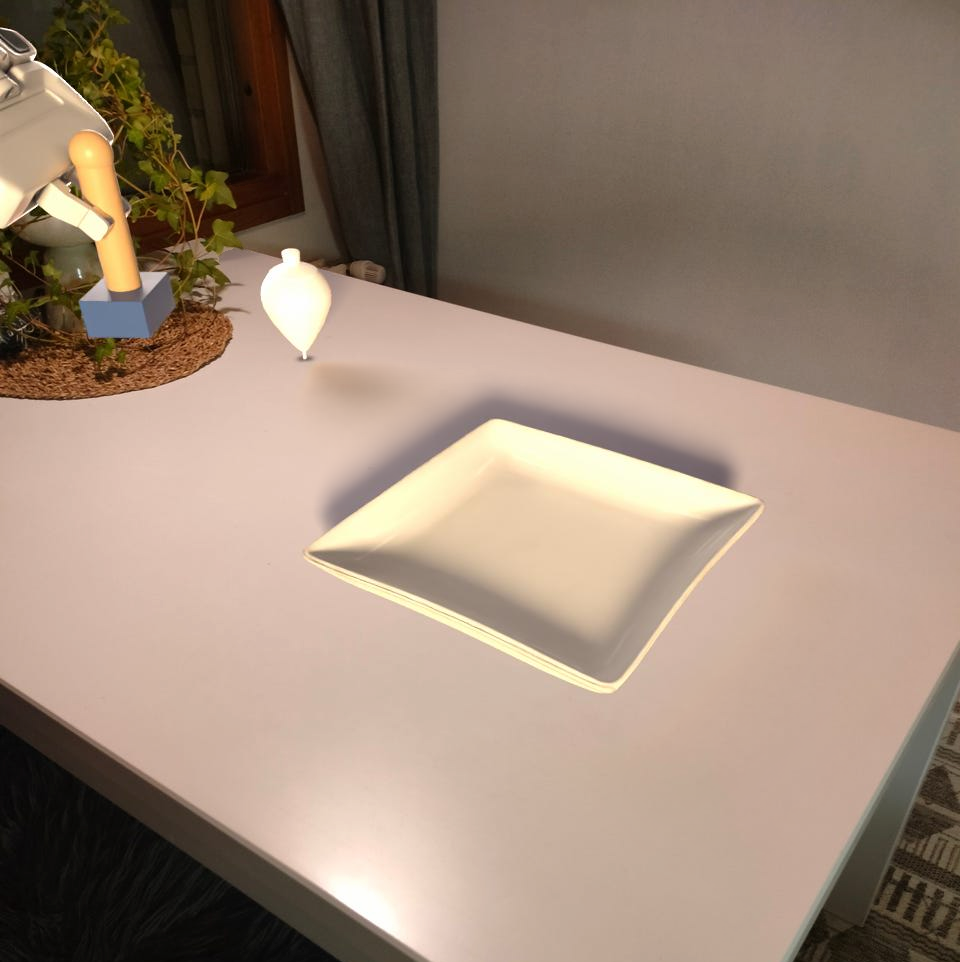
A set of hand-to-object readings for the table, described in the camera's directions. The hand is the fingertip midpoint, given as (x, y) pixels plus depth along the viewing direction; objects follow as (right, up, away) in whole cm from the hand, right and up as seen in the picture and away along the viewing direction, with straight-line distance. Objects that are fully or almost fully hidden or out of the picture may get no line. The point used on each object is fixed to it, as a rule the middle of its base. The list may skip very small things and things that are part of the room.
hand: (116, 224), depth 73 cm
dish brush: (-1, -6, +5) cm, 8 cm away
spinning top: (+9, -1, +32) cm, 33 cm away
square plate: (+34, -27, +1) cm, 43 cm away
